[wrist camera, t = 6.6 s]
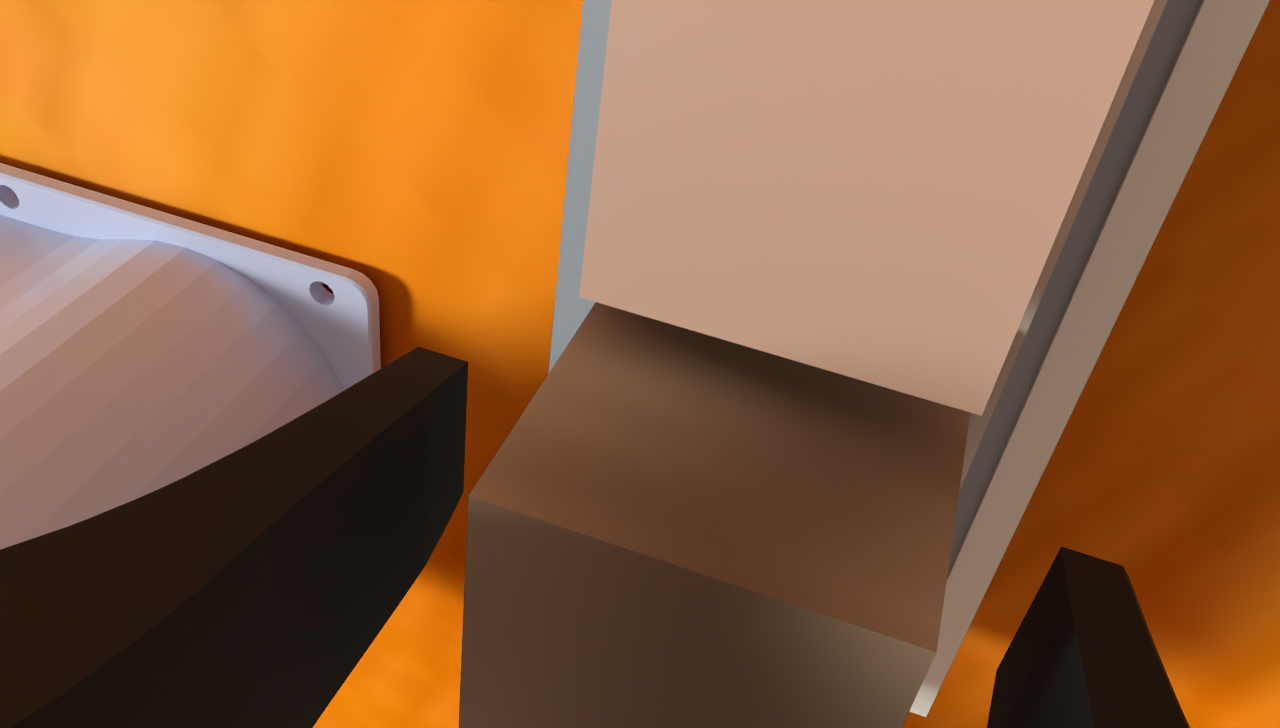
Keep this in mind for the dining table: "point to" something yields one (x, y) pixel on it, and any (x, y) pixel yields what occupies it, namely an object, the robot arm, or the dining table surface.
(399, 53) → the dining table surface
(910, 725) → the dining table surface
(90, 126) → the dining table surface
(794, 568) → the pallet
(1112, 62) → the block
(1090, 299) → the dock
